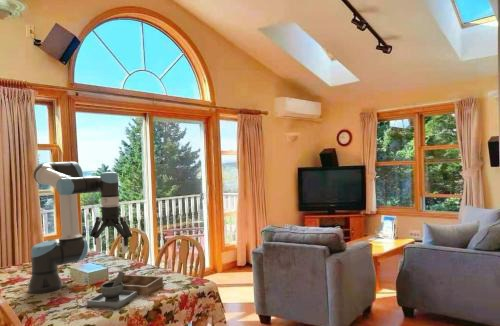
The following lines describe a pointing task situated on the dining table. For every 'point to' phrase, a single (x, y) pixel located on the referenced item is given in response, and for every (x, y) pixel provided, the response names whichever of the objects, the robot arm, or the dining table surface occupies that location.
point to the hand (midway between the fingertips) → (111, 252)
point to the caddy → (141, 283)
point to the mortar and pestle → (113, 288)
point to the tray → (101, 303)
